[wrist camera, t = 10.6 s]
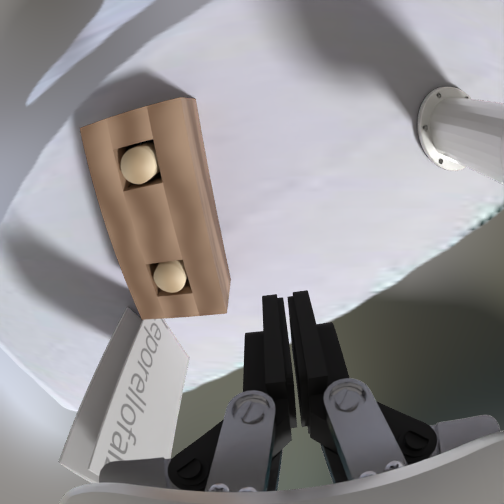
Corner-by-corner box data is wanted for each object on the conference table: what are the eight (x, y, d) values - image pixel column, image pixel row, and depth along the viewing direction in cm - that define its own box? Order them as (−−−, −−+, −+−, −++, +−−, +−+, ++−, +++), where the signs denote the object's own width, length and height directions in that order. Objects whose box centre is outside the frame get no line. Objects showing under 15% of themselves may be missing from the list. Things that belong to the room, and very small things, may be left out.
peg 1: (169, 135, 34) (150, 143, 28) (175, 165, 36) (158, 179, 30) (141, 142, 35) (116, 152, 28) (147, 171, 37) (125, 187, 30)
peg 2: (192, 235, 41) (180, 262, 34) (198, 260, 43) (188, 291, 36) (165, 239, 41) (149, 266, 34) (172, 263, 43) (159, 293, 36)
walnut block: (195, 98, 33) (180, 97, 26) (230, 279, 45) (226, 313, 38) (110, 121, 34) (79, 128, 26) (156, 287, 46) (141, 319, 38)
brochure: (189, 357, 53) (162, 508, 26) (165, 362, 54) (131, 503, 27) (152, 300, 47) (89, 469, 20) (126, 307, 48) (58, 462, 21)
